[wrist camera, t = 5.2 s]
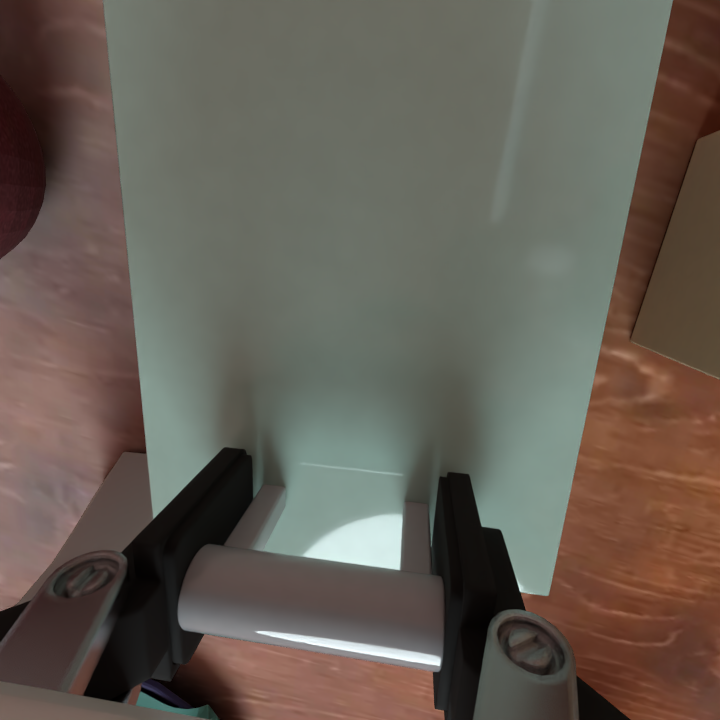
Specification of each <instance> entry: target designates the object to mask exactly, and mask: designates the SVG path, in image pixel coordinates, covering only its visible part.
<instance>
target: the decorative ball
mask: <svg viewBox="0 0 720 720" xmlns="http://www.w3.org/2000/svg"><path fill="white" fill-rule="evenodd" d="M45 187H46V177H45V164H44V158H43V153H42V149H41V146H40V143H39V140H38V137H37V134H36V132H35V129H34V127H33V125H32V122H31V120H30V118H29V117H28V115H27V113H26V111H25V109H24V107H23V105H22V103H21V101H20V100H19V99H18V97H17V96H16V95H15V93H14V92H13V90H12V89H11V88H10V86H9V85H8V84H7V82H6V81H5V80H4V79H3V78H2V76H1V75H0V259H1V258H2V257H3V256H5V255H6V254H7V253H8V252H10V251H11V250H12V249H13V248H15V247H16V246H17V245H18V244H19V243H20V242H21V241H22V240H23V239H24V238H25V237H26V235H27V234H28V232H29V231H30V229H31V228H32V226H33V225H34V223H35V221H36V219H37V216H38V214H39V211H40V208H41V206H42V203H43V199H44V193H45Z"/></svg>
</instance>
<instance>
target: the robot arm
mask: <svg viewBox="0 0 720 720" xmlns="http://www.w3.org/2000/svg"><path fill="white" fill-rule="evenodd" d="M252 501H253V468H252V456H251V455H247V453H246V450H245V449H238V448H229V447H224V448H223V449H222V450H221V451H220V452H219V453H218V454H217V455H216V456H215V457H214V458H213V459H212V460H211V461H210V462H209V463H208V464H207V465H206V466H205V467H204V468H203V469H202V470H201V471H200V472H199V473H198V474H197V475H196V476H195V477H194V478H193V479H192V480H191V481H190V482H189V483H188V484H187V485H186V486H185V487H184V488H183V489H182V490H181V492H180V493H179V494H178V495H177V496H176V497H175V498H174V499H173V500H172V501H171V502H170V503H169V504H168V505H167V506H166V507H165V508H164V509H163V510H162V511H161V512H160V513H159V514H158V515H157V516H156V517H155V518H154V519H153V520H152V521H151V522H150V523H149V524H148V525H147V526H146V527H145V528H144V529H143V530H142V531H141V532H140V533H139V534H138V535H137V536H136V537H135V538H134V539H133V541H132V542H131V543H130V544H129V545H128V546H127V547H126V548H125V549H124V550H123V551H122V552H121V553H120V552H117V551H114V550H99V551H93V552H89V553H86V554H83V555H80V556H77V557H75V558H73V559H71V560H69V561H67V562H65V563H64V564H63V565H61V566H60V567H58V568H57V569H56V570H55V571H54V572H53V573H52V574H51V575H50V576H49V577H48V578H47V579H46V581H45V582H44V583H43V585H42V586H41V588H40V589H39V590H38V592H37V593H36V594H35V596H34V597H33V599H32V600H30V601H27V602H25V603H22V604H19V605H17V606H14V607H11V608H9V609H6V610H3V611H0V720H209V719H204V718H199V717H193V716H188V715H183V714H178V713H172V712H167V711H162V710H157V709H151V708H146V707H141V706H136V703H137V700H138V697H139V694H140V691H141V685H142V683H143V682H144V681H146V680H148V679H150V678H154V679H159V680H165V681H170V682H171V680H172V678H173V677H174V675H175V673H176V671H177V670H178V668H179V666H180V664H183V665H185V664H187V663H188V662H189V660H190V659H191V657H192V655H193V654H194V652H195V650H196V648H197V646H198V645H199V643H200V641H201V639H202V637H203V636H204V634H201V633H195V632H189V631H185V630H183V629H182V628H181V627H180V625H179V623H178V616H177V610H178V600H179V595H180V590H181V587H182V583H183V580H184V577H185V574H186V572H187V570H188V567H189V565H190V563H191V561H192V560H193V558H194V556H195V555H196V553H197V552H198V551H199V550H200V549H201V548H202V547H203V546H204V545H206V544H218V545H224V543H225V542H226V540H227V539H228V537H229V536H230V534H231V533H232V531H233V530H234V528H235V527H236V525H237V524H238V522H239V520H240V519H241V517H242V516H243V514H244V513H245V511H246V510H247V508H248V507H249V505H250V504H251V502H252ZM431 553H432V573H433V575H440V576H441V577H442V578H443V582H444V592H445V638H444V656H443V663H442V667H441V670H440V672H438V673H436V672H433V684H434V705H435V709H438V710H444V715H445V720H630V719H629V718H628V717H627V716H625V715H624V714H623V713H622V712H620V711H619V710H618V709H617V708H616V707H614V706H613V705H612V704H611V703H609V702H608V701H607V700H606V699H605V698H603V697H602V696H601V695H600V694H598V693H597V692H596V691H595V690H594V689H592V688H591V687H590V686H589V685H587V684H586V683H585V682H584V681H582V680H581V679H580V678H579V677H578V676H576V662H575V657H574V653H573V649H572V648H571V646H570V644H569V642H568V641H567V639H566V637H565V636H564V635H563V634H562V633H561V632H560V631H559V630H558V629H557V628H556V627H555V626H554V625H553V624H551V623H550V622H548V621H547V620H546V619H544V618H542V617H540V616H538V615H536V614H534V613H532V612H528V611H526V610H525V606H524V603H523V600H522V596H521V593H520V590H519V587H518V583H517V580H516V577H515V573H514V570H513V567H512V564H511V560H510V557H509V554H508V550H507V547H506V544H505V540H504V537H503V534H502V532H501V530H500V529H496V528H488V527H482V526H481V522H480V518H479V513H478V509H477V505H476V501H475V496H474V492H473V488H472V484H471V479H470V476H469V474H464V473H455V472H448V473H447V477H441V476H440V477H439V483H438V492H437V501H436V510H435V519H434V528H433V536H432V545H431Z"/></svg>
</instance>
